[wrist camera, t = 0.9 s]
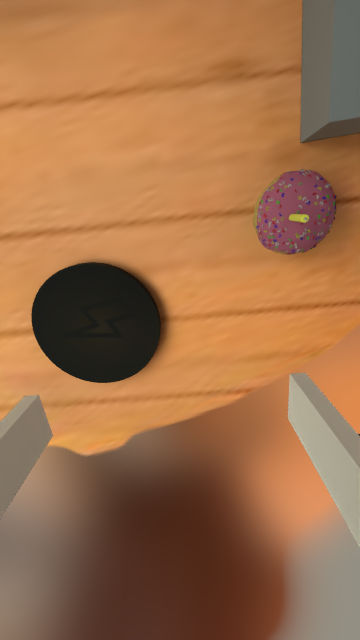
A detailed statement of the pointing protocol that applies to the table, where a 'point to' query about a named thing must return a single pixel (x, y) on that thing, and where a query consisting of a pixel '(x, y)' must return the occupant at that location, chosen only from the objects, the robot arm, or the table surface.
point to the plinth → (330, 69)
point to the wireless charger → (96, 322)
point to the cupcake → (294, 212)
